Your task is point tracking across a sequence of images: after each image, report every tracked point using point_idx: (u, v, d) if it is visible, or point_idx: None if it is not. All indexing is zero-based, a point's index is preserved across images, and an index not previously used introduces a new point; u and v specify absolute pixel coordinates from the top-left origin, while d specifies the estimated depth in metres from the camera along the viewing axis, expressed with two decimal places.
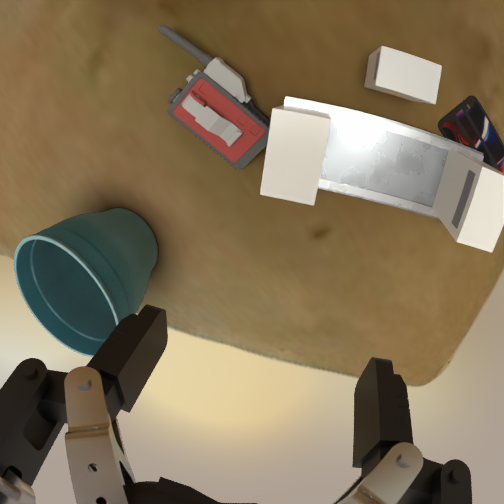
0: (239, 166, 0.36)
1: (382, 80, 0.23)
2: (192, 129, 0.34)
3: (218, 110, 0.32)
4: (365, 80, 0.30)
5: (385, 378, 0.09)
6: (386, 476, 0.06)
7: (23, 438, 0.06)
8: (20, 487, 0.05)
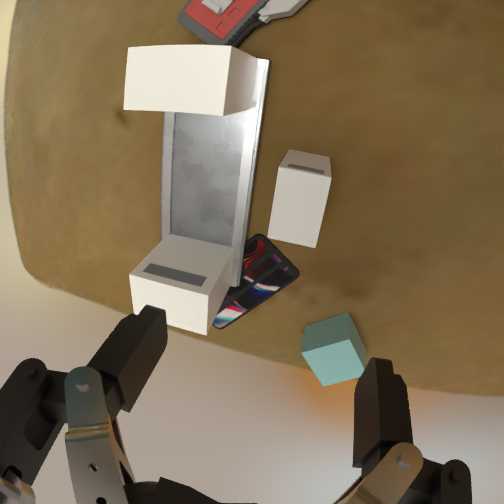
0: (180, 17, 0.23)
1: (286, 175, 0.23)
2: None
3: None
4: (297, 151, 0.29)
5: (385, 378, 0.09)
6: (386, 476, 0.06)
7: (23, 438, 0.06)
8: (20, 487, 0.05)
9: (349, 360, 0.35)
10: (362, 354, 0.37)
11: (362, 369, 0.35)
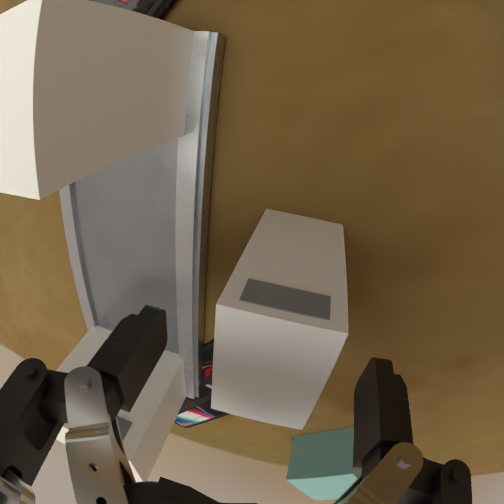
0: None
1: (235, 322, 0.10)
2: None
3: None
4: (280, 214, 0.16)
5: (385, 378, 0.09)
6: (386, 476, 0.06)
7: (23, 438, 0.06)
8: (20, 487, 0.05)
9: None
10: None
11: None
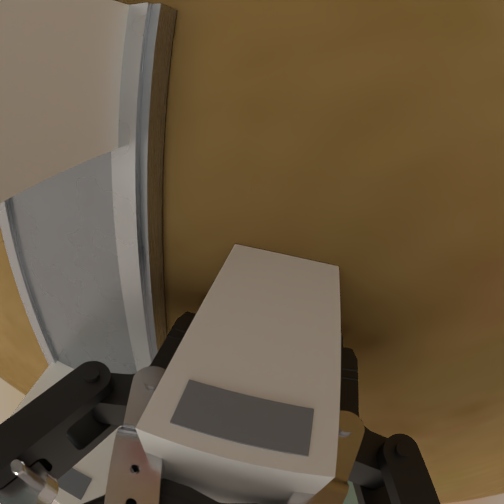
0: None
1: (167, 449, 0.05)
2: None
3: None
4: (254, 252, 0.12)
5: None
6: None
7: (65, 437, 0.07)
8: (45, 482, 0.05)
9: None
10: None
11: None
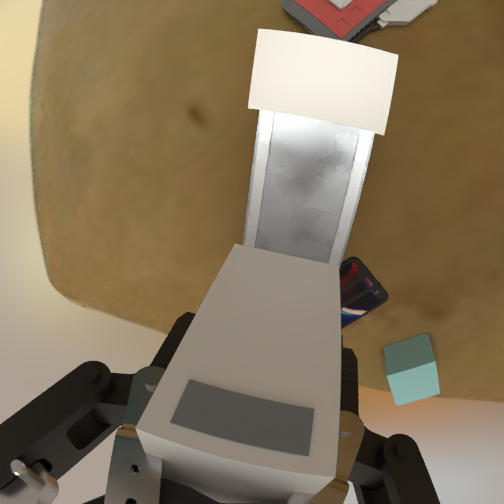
0: (285, 4, 0.19)
1: (167, 449, 0.05)
2: None
3: None
4: (254, 252, 0.12)
5: None
6: None
7: (65, 437, 0.07)
8: (45, 482, 0.05)
9: (429, 380, 0.31)
10: None
11: (437, 388, 0.31)
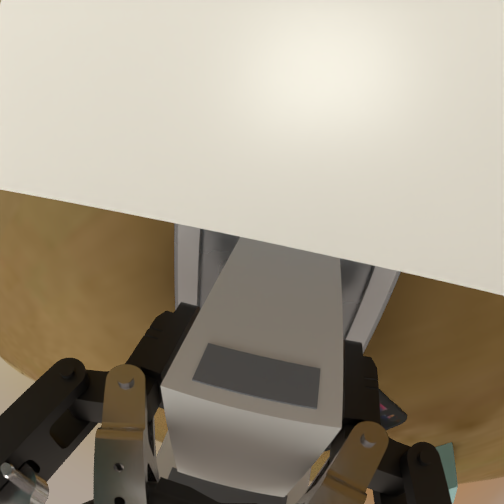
0: None
1: (188, 407, 0.06)
2: None
3: None
4: None
5: (353, 359, 0.10)
6: (353, 457, 0.07)
7: (48, 436, 0.06)
8: (35, 483, 0.05)
9: None
10: None
11: (451, 501, 0.18)
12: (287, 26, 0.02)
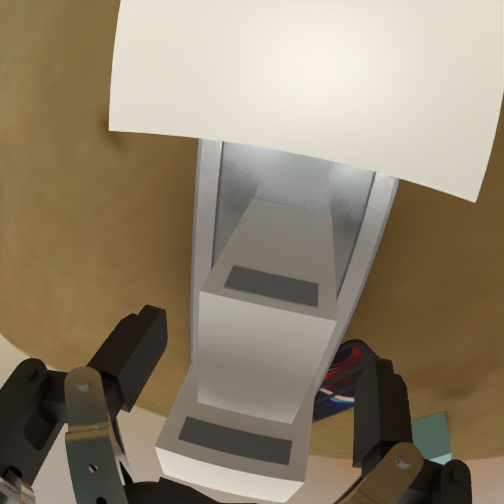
0: None
1: (219, 310, 0.09)
2: None
3: None
4: (267, 203, 0.15)
5: (385, 378, 0.09)
6: (386, 476, 0.06)
7: (23, 438, 0.06)
8: (20, 487, 0.05)
9: None
10: None
11: None
12: (297, 53, 0.05)
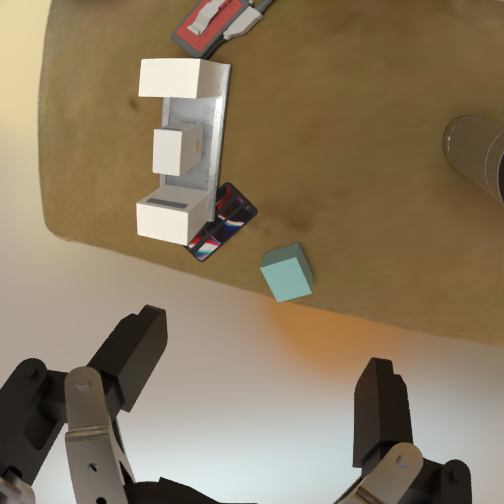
0: (172, 37, 0.37)
1: (158, 133, 0.38)
2: (202, 1, 0.33)
3: (216, 17, 0.34)
4: None
5: (385, 378, 0.09)
6: (386, 476, 0.06)
7: (23, 438, 0.06)
8: (20, 487, 0.05)
9: (297, 277, 0.49)
10: (309, 277, 0.51)
11: (307, 287, 0.49)
12: (165, 82, 0.33)
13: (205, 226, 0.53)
